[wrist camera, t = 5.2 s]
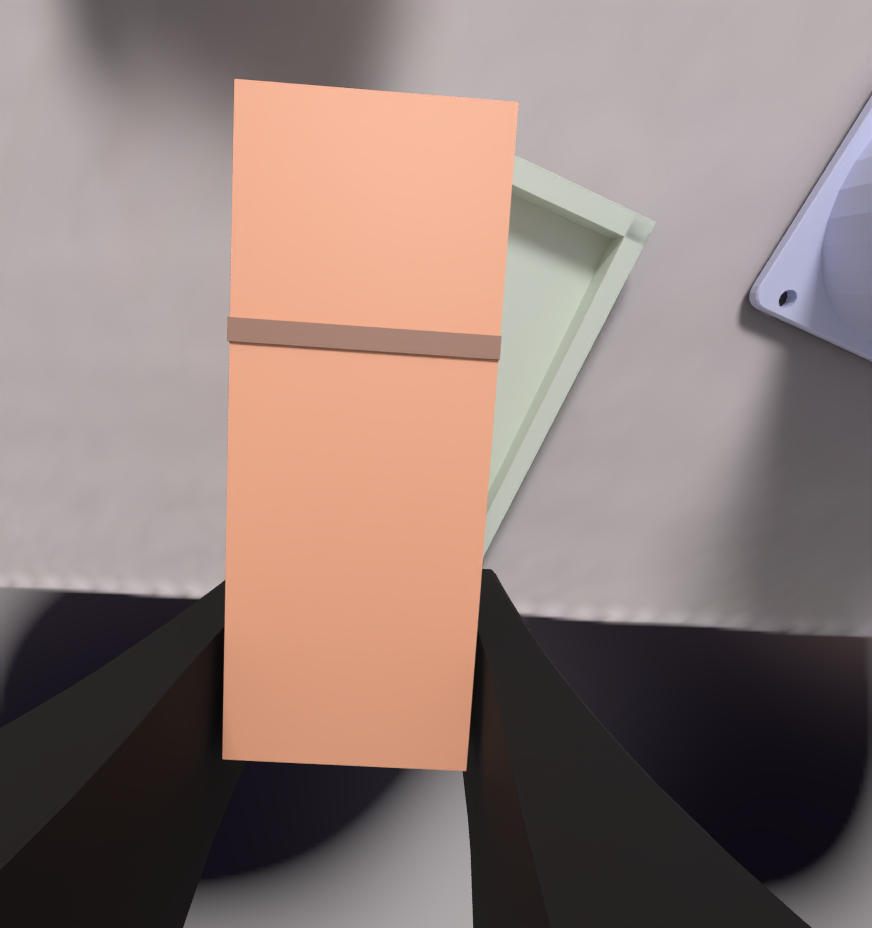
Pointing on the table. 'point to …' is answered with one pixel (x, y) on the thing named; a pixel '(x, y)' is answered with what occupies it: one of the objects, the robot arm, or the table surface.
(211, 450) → the table surface
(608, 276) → the tray
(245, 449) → the orange block
